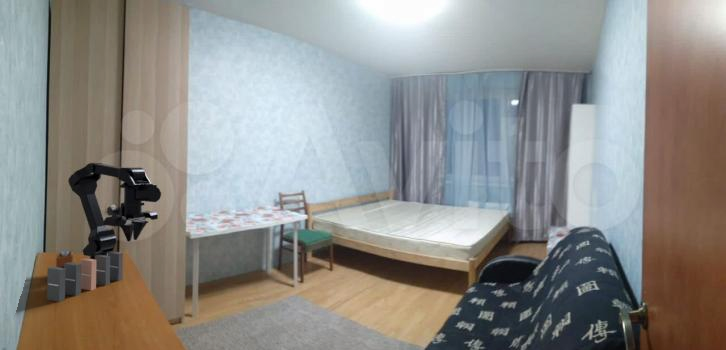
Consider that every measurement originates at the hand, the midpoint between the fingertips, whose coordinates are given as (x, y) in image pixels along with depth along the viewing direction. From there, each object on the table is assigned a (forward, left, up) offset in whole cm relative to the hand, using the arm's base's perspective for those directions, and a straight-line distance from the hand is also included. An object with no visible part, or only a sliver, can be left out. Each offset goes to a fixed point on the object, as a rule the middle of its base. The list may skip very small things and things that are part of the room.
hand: (132, 240), depth 135 cm
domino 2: (+18, -13, -13) cm, 25 cm away
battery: (+2, -20, -13) cm, 24 cm away
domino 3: (+14, -10, -13) cm, 21 cm away
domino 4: (+10, -7, -13) cm, 18 cm away
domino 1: (+22, -15, -13) cm, 30 cm away
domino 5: (+6, -4, -13) cm, 15 cm away
